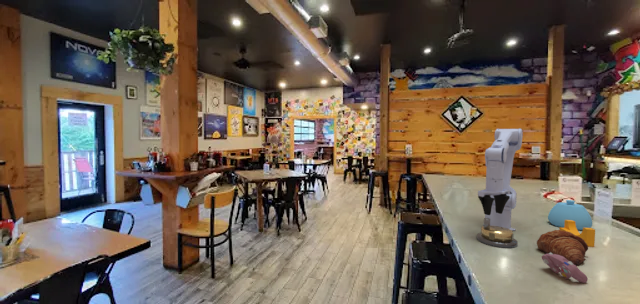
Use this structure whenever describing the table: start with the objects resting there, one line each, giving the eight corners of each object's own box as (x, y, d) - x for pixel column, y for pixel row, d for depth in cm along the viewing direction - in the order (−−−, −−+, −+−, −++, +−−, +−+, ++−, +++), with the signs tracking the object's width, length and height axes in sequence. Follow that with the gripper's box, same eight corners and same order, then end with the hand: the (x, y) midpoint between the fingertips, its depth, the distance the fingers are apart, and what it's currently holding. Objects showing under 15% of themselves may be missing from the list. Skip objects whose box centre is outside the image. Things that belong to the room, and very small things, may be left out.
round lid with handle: (503, 233, 112) (504, 215, 112) (518, 242, 102) (519, 223, 102) (476, 232, 113) (477, 214, 112) (489, 241, 103) (490, 222, 103)
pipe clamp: (558, 235, 116) (559, 219, 115) (571, 236, 115) (572, 220, 115) (580, 246, 104) (581, 228, 104) (594, 247, 103) (595, 229, 103)
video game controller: (544, 272, 86) (535, 252, 86) (557, 265, 86) (549, 245, 86) (576, 290, 76) (567, 267, 76) (591, 282, 77) (581, 259, 76)
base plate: (468, 236, 112) (468, 233, 112) (495, 234, 116) (495, 230, 115) (497, 249, 100) (497, 245, 99) (526, 246, 103) (526, 242, 103)
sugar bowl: (587, 224, 131) (588, 199, 130) (596, 233, 118) (598, 206, 117) (545, 219, 139) (546, 195, 138) (549, 227, 126) (551, 201, 125)
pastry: (519, 247, 103) (520, 225, 102) (545, 241, 109) (546, 220, 108) (576, 267, 87) (578, 241, 87) (603, 259, 93) (604, 234, 93)
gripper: (490, 181, 104) (488, 218, 105) (518, 179, 109) (516, 214, 110) (473, 178, 111) (472, 213, 111) (500, 177, 116) (499, 210, 116)
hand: (493, 213), depth 111 cm, fingers open, 6 cm apart
